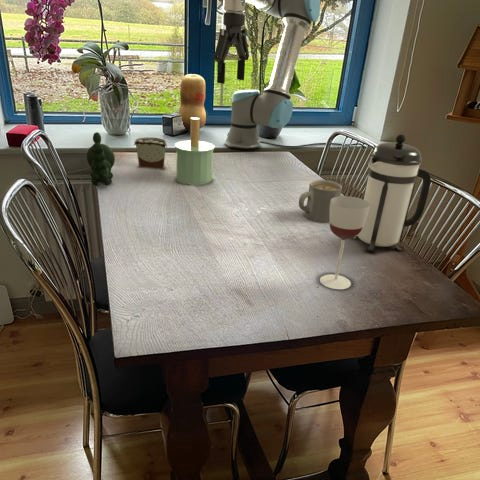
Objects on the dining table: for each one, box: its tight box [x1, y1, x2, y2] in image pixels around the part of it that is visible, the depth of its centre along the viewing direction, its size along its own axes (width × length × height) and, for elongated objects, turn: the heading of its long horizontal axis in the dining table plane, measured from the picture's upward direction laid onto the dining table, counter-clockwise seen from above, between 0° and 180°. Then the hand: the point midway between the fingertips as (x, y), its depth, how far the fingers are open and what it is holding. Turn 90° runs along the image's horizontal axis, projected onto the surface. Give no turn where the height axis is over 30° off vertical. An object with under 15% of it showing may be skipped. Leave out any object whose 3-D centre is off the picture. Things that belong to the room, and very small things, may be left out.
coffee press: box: [351, 134, 432, 254], centre depth 134 cm, size 17×16×30 cm
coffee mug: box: [298, 179, 343, 223], centre depth 154 cm, size 13×10×10 cm
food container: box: [133, 136, 168, 170], centre depth 188 cm, size 12×6×10 cm, turn 84°
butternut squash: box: [177, 73, 207, 132], centre depth 236 cm, size 14×13×25 cm
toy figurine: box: [86, 131, 116, 186], centre depth 168 cm, size 9×19×25 cm
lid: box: [174, 117, 215, 153], centre depth 171 cm, size 14×14×10 cm
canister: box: [175, 148, 214, 186], centre depth 177 cm, size 13×13×12 cm
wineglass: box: [319, 195, 370, 290], centre depth 115 cm, size 8×9×20 cm
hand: (230, 81), depth 179 cm, fingers open, 13 cm apart
